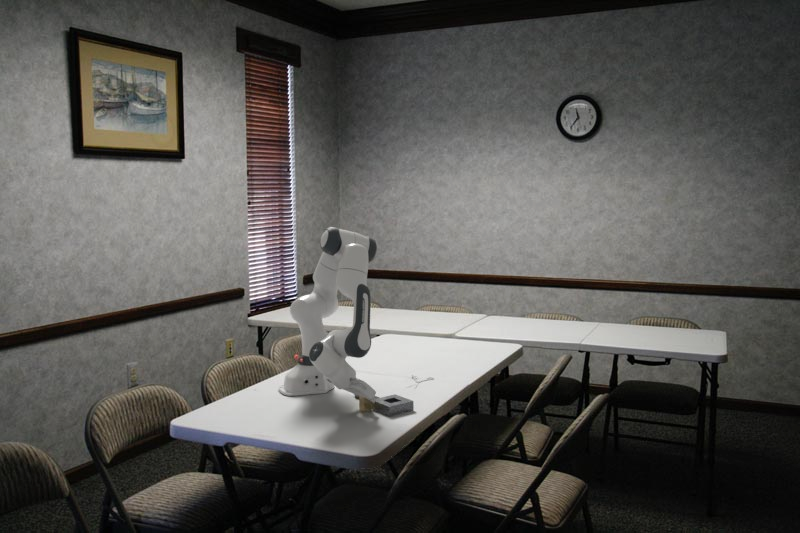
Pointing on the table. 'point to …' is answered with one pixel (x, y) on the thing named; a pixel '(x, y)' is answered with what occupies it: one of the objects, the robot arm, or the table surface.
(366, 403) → the bar
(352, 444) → the table surface
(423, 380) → the scissors
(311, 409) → the table surface
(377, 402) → the grey handled square frame
